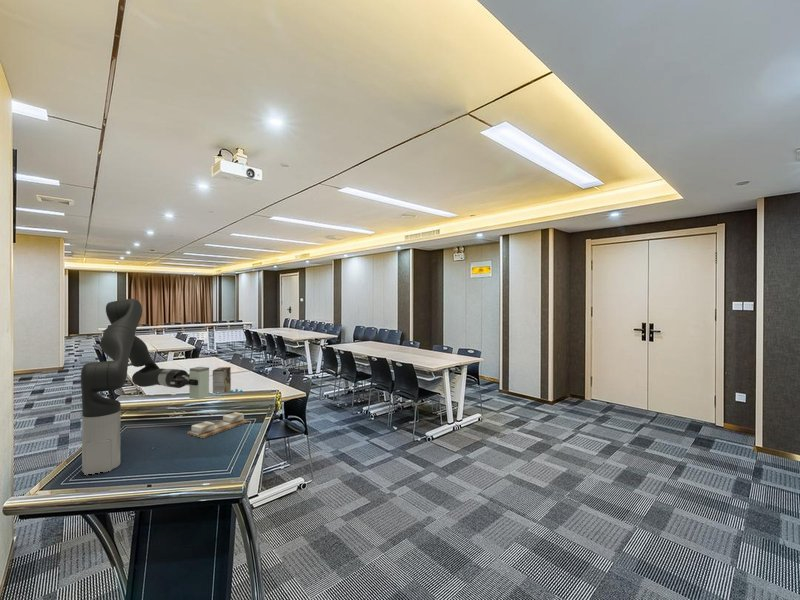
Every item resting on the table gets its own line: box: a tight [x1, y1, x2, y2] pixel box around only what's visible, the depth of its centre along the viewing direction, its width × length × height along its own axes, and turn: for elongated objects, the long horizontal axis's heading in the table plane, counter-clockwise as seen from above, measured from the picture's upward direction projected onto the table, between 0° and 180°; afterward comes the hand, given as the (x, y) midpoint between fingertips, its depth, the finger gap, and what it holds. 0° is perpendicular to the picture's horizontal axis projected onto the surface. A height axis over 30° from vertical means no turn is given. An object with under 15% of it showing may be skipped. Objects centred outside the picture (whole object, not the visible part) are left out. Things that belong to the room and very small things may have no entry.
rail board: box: [187, 411, 249, 439], centre depth 146 cm, size 20×10×4 cm, turn 152°
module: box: [188, 366, 210, 400], centre depth 146 cm, size 4×6×12 cm
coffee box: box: [212, 366, 232, 394], centre depth 194 cm, size 9×6×16 cm
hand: (202, 381), depth 145 cm, fingers closed on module, 4 cm apart
